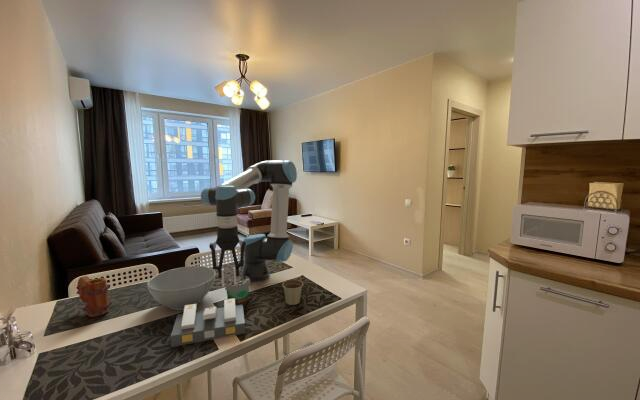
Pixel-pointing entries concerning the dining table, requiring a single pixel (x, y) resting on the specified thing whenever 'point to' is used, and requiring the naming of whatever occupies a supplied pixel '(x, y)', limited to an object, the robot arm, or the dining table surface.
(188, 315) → the block
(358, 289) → the dining table surface
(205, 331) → the switch unit
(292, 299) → the flower pot
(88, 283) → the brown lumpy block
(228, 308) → the block
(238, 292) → the food container
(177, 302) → the decorative bowl
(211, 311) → the rocker
